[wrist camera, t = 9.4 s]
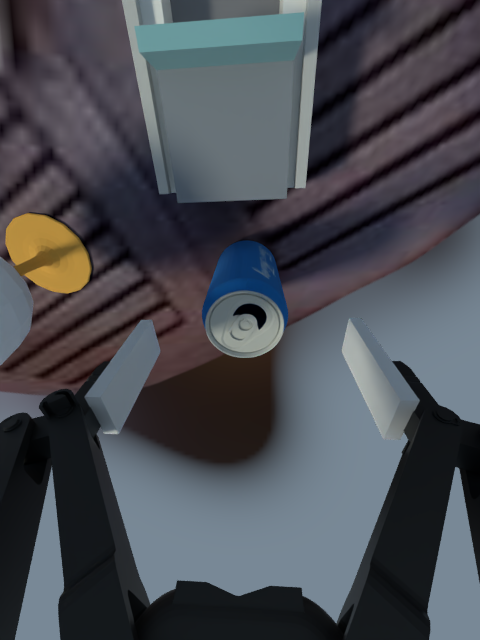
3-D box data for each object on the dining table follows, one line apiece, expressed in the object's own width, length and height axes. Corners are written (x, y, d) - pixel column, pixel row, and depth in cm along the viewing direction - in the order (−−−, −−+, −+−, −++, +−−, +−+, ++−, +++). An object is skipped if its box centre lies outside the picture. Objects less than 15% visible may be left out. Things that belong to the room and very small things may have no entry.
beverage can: (287, 258, 27) (310, 316, 17) (254, 303, 30) (257, 373, 20) (236, 226, 25) (227, 267, 15) (207, 276, 28) (183, 338, 18)
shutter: (179, 201, 21) (167, 208, 18) (156, 53, 16) (134, 25, 13) (285, 197, 21) (291, 203, 17) (293, 43, 16) (304, 12, 13)
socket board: (171, 190, 24) (159, 194, 20) (100, -234, 13) (51, -364, 10) (297, 184, 23) (305, 187, 20) (330, -266, 12) (358, -416, 9)
